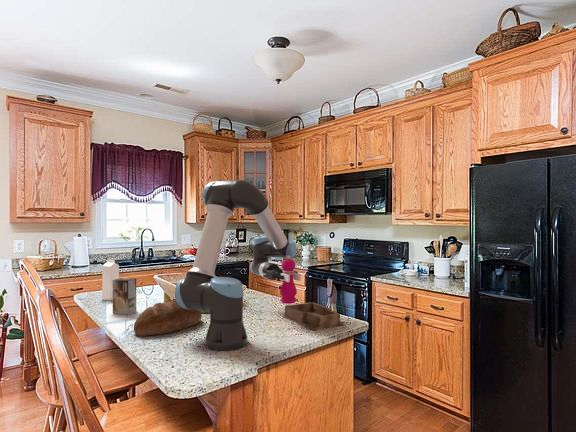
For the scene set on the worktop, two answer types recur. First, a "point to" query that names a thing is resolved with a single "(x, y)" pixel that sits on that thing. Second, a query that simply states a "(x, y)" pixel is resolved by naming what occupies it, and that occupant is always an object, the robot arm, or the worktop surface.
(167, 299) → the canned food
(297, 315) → the keyhole cradle
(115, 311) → the coffee box
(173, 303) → the bread
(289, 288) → the pepper mill
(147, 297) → the worktop surface
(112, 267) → the milk
